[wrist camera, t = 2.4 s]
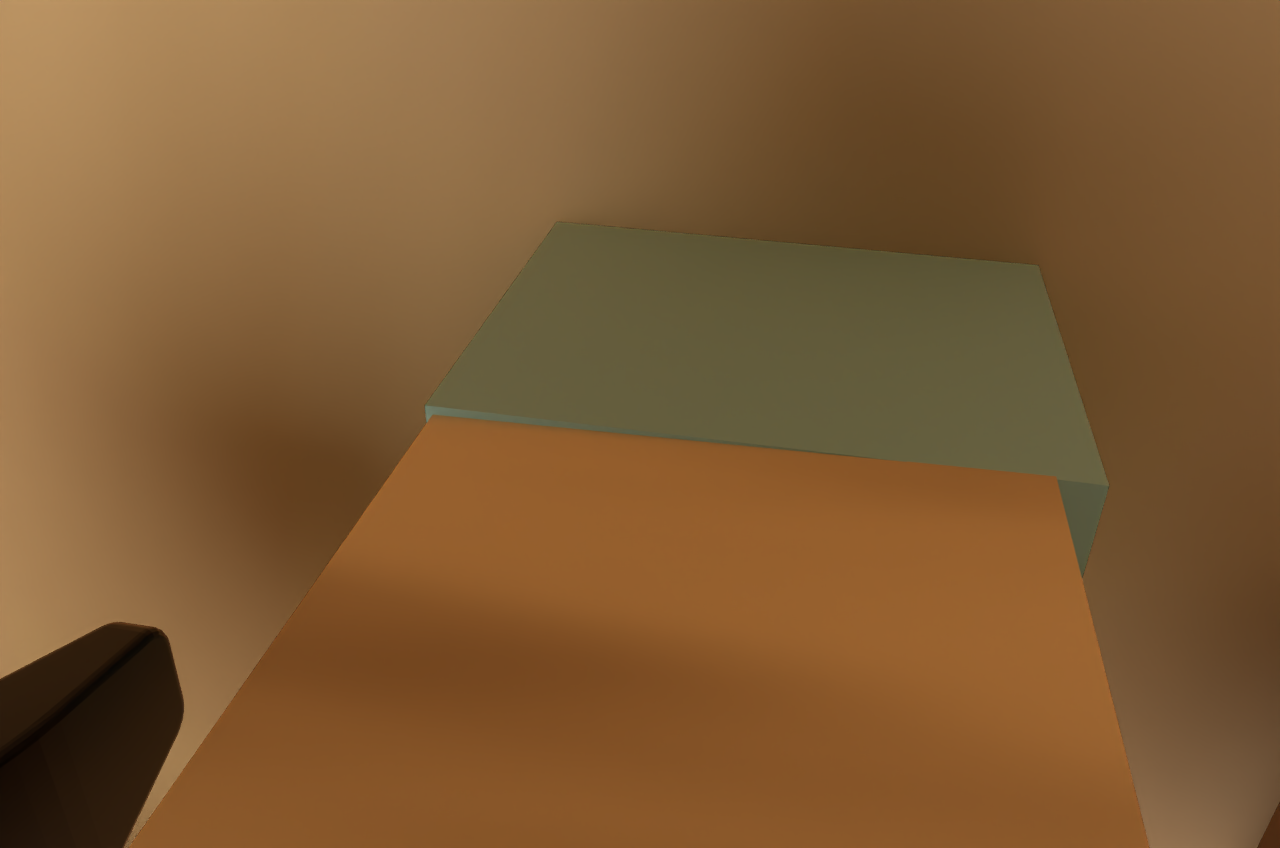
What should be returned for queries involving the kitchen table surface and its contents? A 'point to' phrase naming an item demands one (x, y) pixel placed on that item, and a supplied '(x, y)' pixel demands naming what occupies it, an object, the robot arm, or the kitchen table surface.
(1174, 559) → the kitchen table surface
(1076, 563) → the oak cube
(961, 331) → the tower base
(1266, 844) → the walnut block
